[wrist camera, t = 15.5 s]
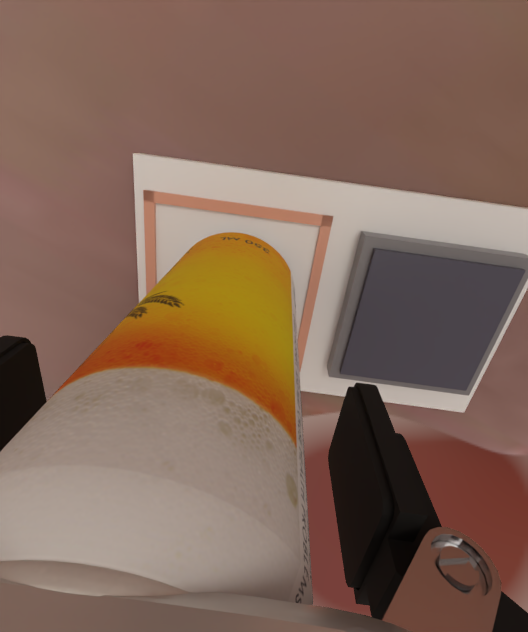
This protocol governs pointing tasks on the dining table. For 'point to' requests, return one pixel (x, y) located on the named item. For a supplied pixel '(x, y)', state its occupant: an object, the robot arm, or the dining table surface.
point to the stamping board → (355, 270)
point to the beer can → (172, 445)
